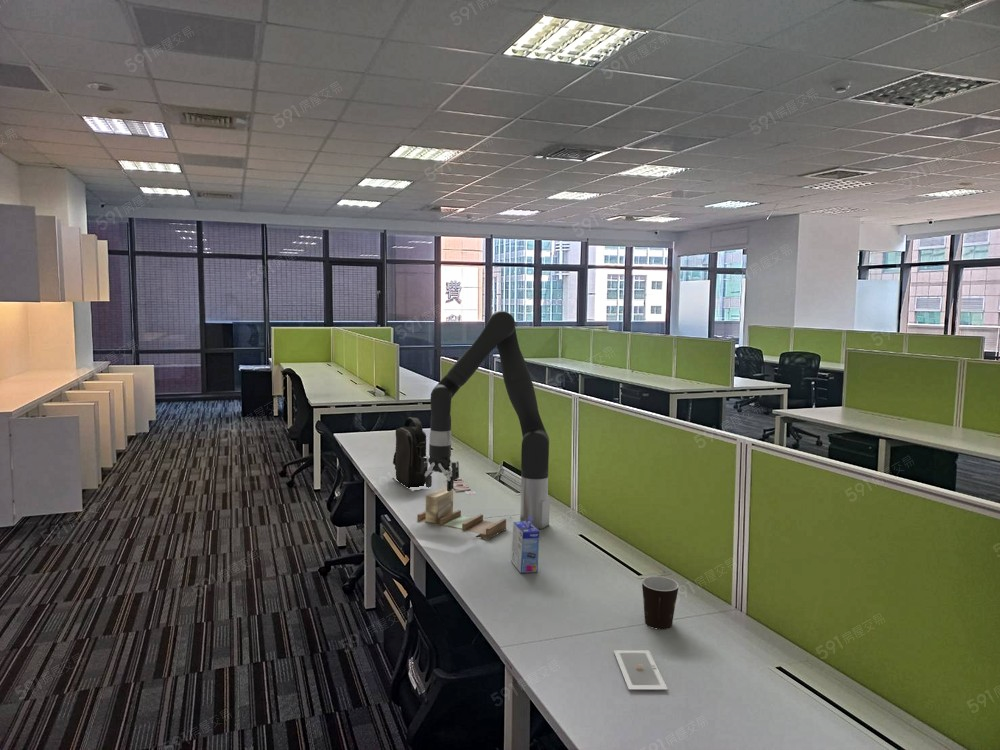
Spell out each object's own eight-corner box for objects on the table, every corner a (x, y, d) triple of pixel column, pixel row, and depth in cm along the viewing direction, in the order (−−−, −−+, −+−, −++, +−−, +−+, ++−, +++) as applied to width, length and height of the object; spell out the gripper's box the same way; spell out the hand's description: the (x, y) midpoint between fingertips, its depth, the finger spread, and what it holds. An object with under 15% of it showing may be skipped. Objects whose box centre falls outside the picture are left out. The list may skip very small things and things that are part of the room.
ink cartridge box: (539, 572, 193) (540, 523, 191) (520, 574, 191) (521, 524, 190) (528, 559, 202) (529, 512, 201) (510, 561, 201) (511, 513, 199)
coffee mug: (650, 611, 170) (652, 573, 168) (682, 622, 164) (684, 582, 163) (627, 628, 161) (629, 587, 159) (661, 640, 155) (663, 598, 154)
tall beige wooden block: (453, 514, 238) (453, 489, 237) (435, 523, 228) (435, 497, 227) (442, 512, 240) (443, 488, 239) (425, 521, 230) (425, 495, 230)
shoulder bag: (432, 488, 276) (433, 421, 273) (411, 491, 271) (412, 422, 268) (410, 476, 295) (411, 412, 292) (391, 478, 291) (391, 414, 288)
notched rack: (505, 529, 229) (506, 519, 228) (488, 539, 218) (488, 529, 218) (436, 515, 242) (437, 505, 242) (417, 524, 232) (417, 514, 231)
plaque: (440, 477, 292) (463, 475, 294) (440, 480, 292) (463, 478, 295) (457, 499, 259) (482, 497, 262) (457, 502, 260) (482, 501, 262)
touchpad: (628, 694, 134) (628, 684, 134) (613, 655, 149) (613, 645, 149) (667, 694, 134) (668, 684, 134) (648, 655, 149) (649, 645, 149)
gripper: (463, 443, 231) (462, 489, 233) (429, 438, 238) (428, 483, 240) (451, 447, 225) (450, 494, 227) (416, 441, 232) (415, 488, 233)
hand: (439, 488), depth 233 cm, fingers open, 8 cm apart
